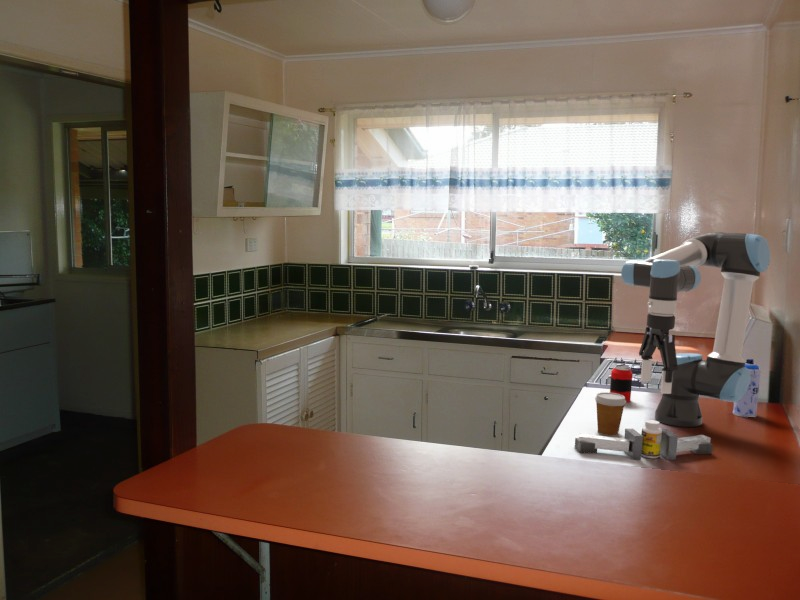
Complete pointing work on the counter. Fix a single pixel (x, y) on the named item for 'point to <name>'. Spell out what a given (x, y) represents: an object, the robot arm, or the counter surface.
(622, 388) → the soda can
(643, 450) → the supplement bottle
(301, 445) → the counter surface
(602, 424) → the disposable coffee cup
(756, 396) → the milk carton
